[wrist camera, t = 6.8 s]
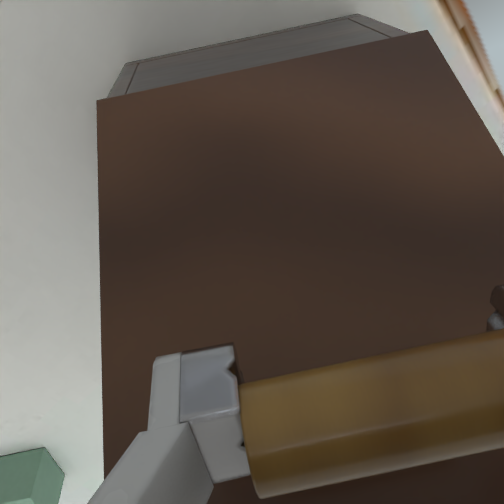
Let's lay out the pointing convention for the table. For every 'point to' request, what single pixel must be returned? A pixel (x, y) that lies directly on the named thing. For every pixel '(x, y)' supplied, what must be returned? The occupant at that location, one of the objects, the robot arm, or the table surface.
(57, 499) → the soap block
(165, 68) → the chest
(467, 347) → the lid
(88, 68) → the table surface
